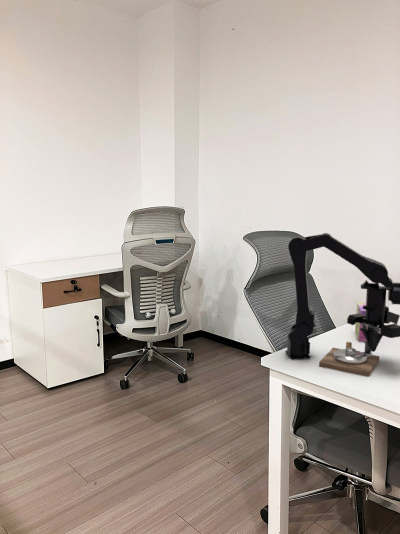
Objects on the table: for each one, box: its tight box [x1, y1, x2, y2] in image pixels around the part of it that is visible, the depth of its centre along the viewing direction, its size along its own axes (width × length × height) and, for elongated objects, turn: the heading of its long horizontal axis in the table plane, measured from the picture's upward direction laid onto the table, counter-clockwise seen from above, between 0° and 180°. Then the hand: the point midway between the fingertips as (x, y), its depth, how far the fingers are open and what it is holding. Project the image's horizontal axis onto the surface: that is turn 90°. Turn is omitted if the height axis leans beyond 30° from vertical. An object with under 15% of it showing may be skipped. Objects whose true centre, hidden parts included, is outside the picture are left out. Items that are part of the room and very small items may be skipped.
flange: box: [334, 341, 373, 364], centre depth 148 cm, size 12×10×5 cm
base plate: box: [318, 341, 380, 378], centre depth 148 cm, size 15×15×4 cm
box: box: [354, 302, 367, 343], centre depth 173 cm, size 10×6×12 cm, turn 168°
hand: (373, 351), depth 148 cm, fingers closed
